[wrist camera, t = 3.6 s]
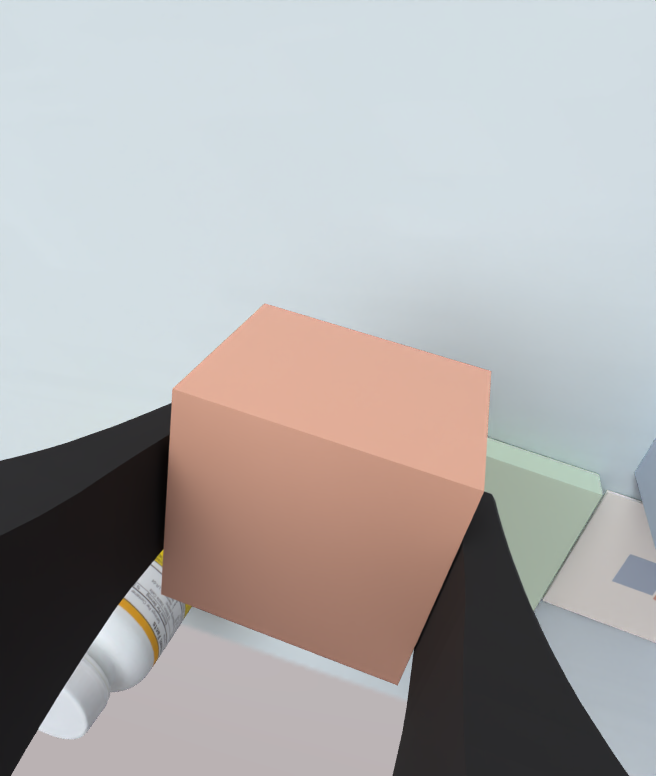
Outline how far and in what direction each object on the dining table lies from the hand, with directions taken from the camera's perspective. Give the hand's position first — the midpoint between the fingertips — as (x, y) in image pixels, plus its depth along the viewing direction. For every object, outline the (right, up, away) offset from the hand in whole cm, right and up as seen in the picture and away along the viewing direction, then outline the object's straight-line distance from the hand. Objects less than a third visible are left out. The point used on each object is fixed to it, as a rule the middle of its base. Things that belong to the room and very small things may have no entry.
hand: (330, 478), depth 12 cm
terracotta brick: (0, +1, +1) cm, 2 cm away
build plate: (+6, -3, +11) cm, 12 cm away
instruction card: (+12, -5, +10) cm, 16 cm away
